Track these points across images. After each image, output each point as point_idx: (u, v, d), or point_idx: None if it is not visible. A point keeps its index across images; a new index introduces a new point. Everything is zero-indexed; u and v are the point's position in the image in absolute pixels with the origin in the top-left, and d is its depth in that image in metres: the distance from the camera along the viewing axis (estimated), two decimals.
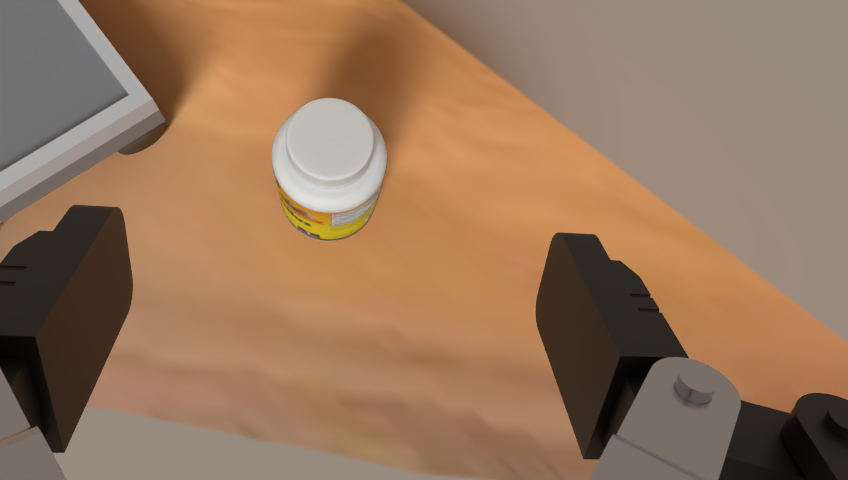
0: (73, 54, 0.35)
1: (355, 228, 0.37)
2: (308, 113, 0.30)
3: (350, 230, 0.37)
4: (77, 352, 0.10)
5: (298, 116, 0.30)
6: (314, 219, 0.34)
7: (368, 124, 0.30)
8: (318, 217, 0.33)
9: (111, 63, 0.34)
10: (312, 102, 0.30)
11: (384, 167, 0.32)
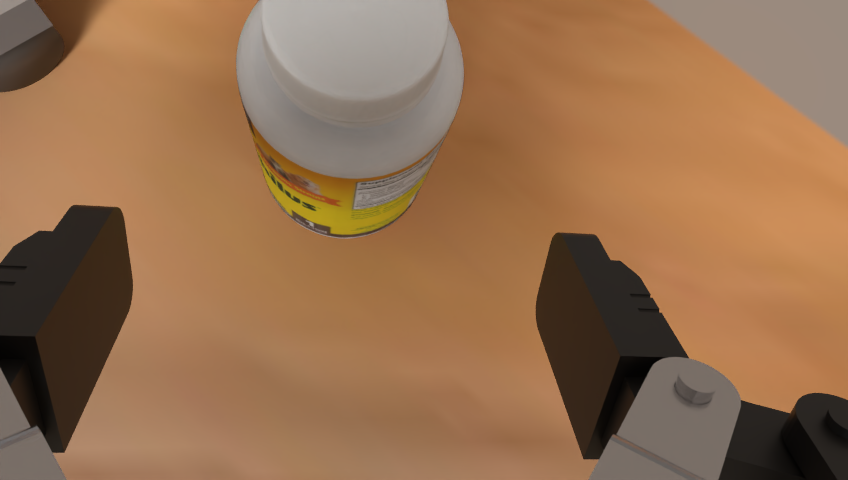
0: None
1: (393, 214, 0.21)
2: None
3: (384, 218, 0.21)
4: (76, 352, 0.10)
5: None
6: (322, 195, 0.18)
7: None
8: (330, 190, 0.17)
9: None
10: None
11: (460, 88, 0.16)
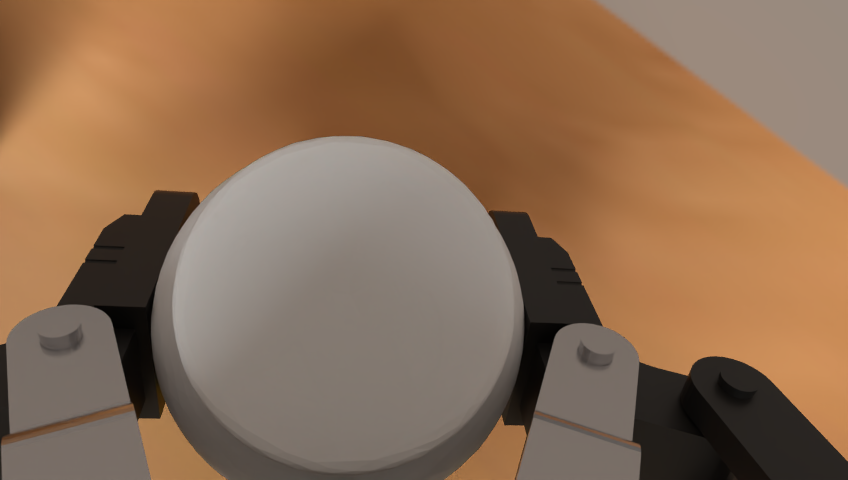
0: None
1: None
2: (262, 199, 0.08)
3: None
4: None
5: (224, 213, 0.08)
6: None
7: (493, 237, 0.08)
8: None
9: None
10: (279, 156, 0.08)
11: (520, 353, 0.10)
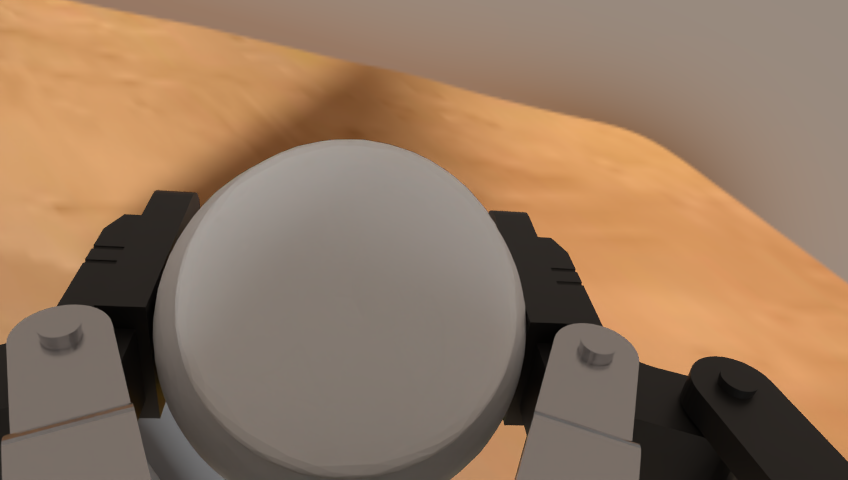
0: None
1: None
2: (264, 202, 0.08)
3: None
4: None
5: (226, 216, 0.08)
6: None
7: (495, 240, 0.08)
8: None
9: None
10: (282, 159, 0.08)
11: (522, 356, 0.10)
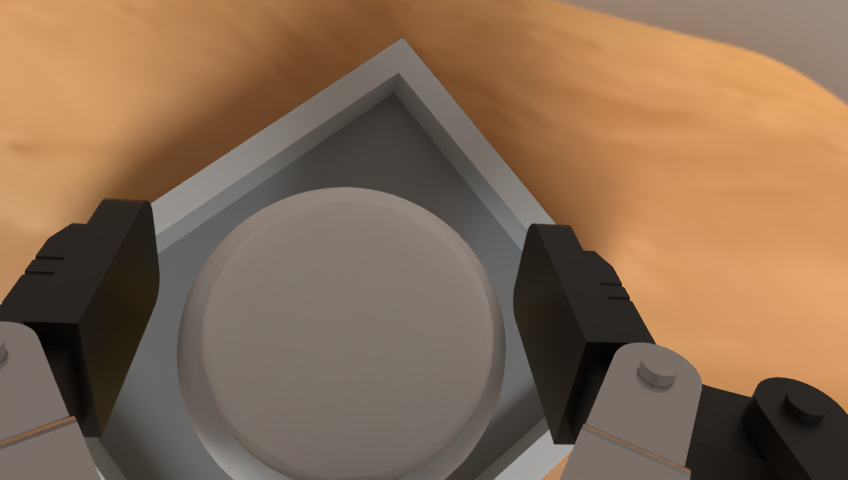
0: (496, 268, 0.20)
1: None
2: (276, 252, 0.09)
3: None
4: (112, 340, 0.10)
5: (244, 265, 0.09)
6: None
7: (474, 283, 0.09)
8: None
9: None
10: (291, 214, 0.09)
11: (502, 375, 0.11)
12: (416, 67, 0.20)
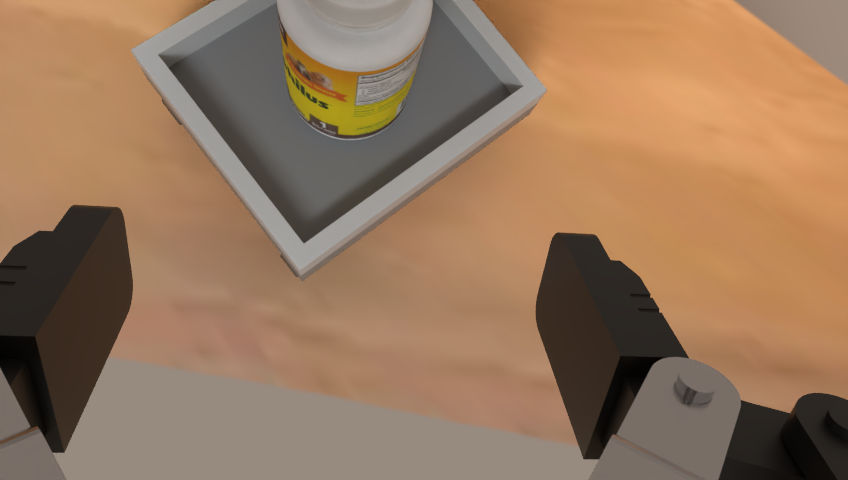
0: (445, 43, 0.32)
1: (384, 118, 0.29)
2: None
3: (378, 120, 0.28)
4: (76, 352, 0.10)
5: None
6: (333, 90, 0.25)
7: None
8: (339, 84, 0.24)
9: (501, 52, 0.31)
10: None
11: (430, 11, 0.24)
12: None
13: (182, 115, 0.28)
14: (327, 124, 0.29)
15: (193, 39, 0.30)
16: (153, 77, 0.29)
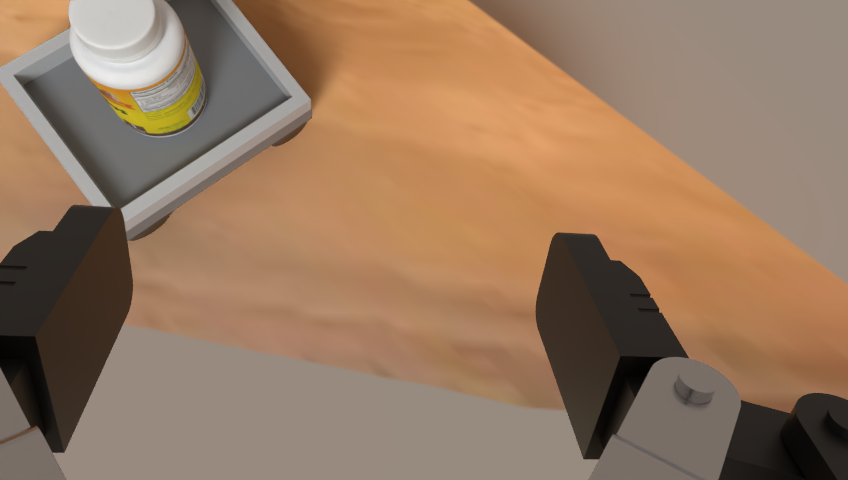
0: (241, 64, 0.43)
1: (178, 120, 0.39)
2: None
3: (172, 122, 0.39)
4: (76, 353, 0.10)
5: None
6: (121, 102, 0.36)
7: None
8: (121, 98, 0.35)
9: (277, 71, 0.42)
10: None
11: (178, 47, 0.34)
12: None
13: (29, 119, 0.39)
14: (135, 125, 0.39)
15: (42, 63, 0.40)
16: (9, 91, 0.39)
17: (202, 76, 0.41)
